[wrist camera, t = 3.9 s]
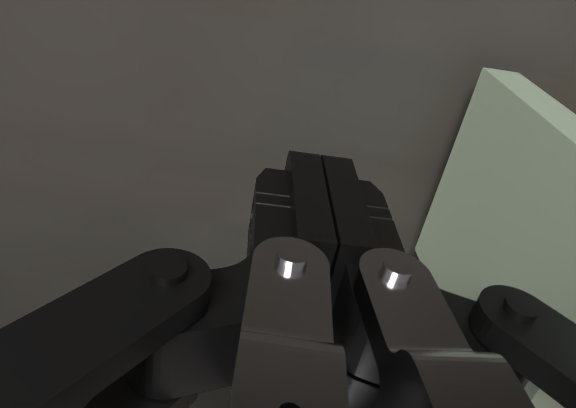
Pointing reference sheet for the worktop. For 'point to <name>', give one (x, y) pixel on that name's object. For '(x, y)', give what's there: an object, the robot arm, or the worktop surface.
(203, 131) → the worktop surface
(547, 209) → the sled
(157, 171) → the worktop surface
